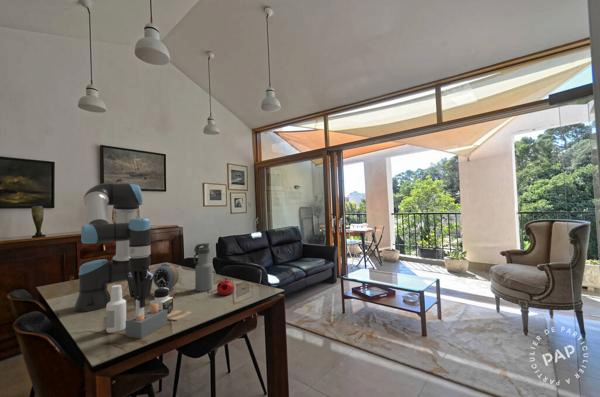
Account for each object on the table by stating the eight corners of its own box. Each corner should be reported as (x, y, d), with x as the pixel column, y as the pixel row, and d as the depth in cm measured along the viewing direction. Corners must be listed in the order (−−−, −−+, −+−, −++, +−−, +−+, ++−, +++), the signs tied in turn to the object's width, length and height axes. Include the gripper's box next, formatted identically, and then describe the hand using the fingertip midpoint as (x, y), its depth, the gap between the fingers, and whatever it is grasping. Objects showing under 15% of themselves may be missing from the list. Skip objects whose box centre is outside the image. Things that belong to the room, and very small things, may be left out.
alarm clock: (149, 295, 152) (149, 264, 153) (162, 290, 162) (161, 261, 162) (171, 297, 149) (170, 265, 149) (182, 291, 158) (182, 262, 159)
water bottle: (191, 291, 158) (191, 244, 159) (200, 286, 167) (199, 242, 168) (207, 292, 156) (206, 244, 157) (215, 287, 166) (214, 242, 167)
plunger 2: (148, 318, 111) (148, 305, 111) (154, 315, 114) (154, 303, 114) (154, 319, 110) (154, 306, 110) (160, 316, 113) (160, 303, 113)
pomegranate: (226, 290, 159) (226, 274, 160) (237, 292, 154) (237, 276, 154) (212, 294, 151) (212, 278, 152) (223, 297, 146) (223, 280, 146)
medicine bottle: (163, 317, 120) (162, 291, 121) (149, 316, 122) (149, 290, 122) (173, 311, 127) (173, 286, 128) (160, 310, 129) (160, 286, 129)
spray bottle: (112, 326, 113) (113, 283, 113) (129, 325, 113) (129, 283, 114) (102, 333, 106) (102, 288, 106) (120, 332, 106) (120, 287, 107)
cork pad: (161, 318, 119) (161, 317, 119) (175, 311, 128) (175, 310, 128) (177, 321, 116) (177, 319, 116) (191, 313, 125) (191, 311, 125)
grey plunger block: (125, 336, 103) (125, 320, 104) (152, 322, 116) (152, 308, 116) (141, 338, 101) (141, 322, 101) (167, 323, 114) (167, 309, 114)
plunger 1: (133, 331, 104) (133, 317, 104) (140, 327, 107) (140, 314, 107) (139, 332, 103) (139, 317, 104) (146, 328, 106) (146, 314, 106)
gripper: (118, 257, 104) (118, 317, 104) (144, 258, 101) (144, 321, 100) (135, 254, 112) (135, 310, 111) (160, 255, 108) (160, 313, 107)
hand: (140, 315), depth 105 cm, fingers closed
